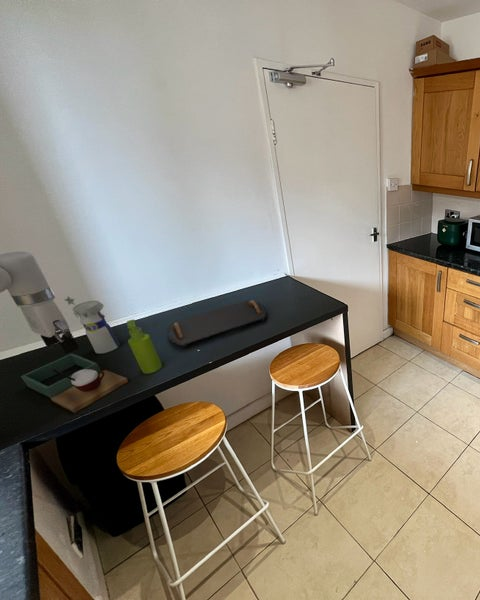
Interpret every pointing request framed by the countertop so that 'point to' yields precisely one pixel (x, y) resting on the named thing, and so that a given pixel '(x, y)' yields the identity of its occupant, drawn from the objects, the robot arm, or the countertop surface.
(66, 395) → the cutting board
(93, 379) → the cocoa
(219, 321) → the serving tray
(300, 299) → the countertop surface
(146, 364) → the soap dispenser
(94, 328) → the water bottle
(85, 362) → the crate
